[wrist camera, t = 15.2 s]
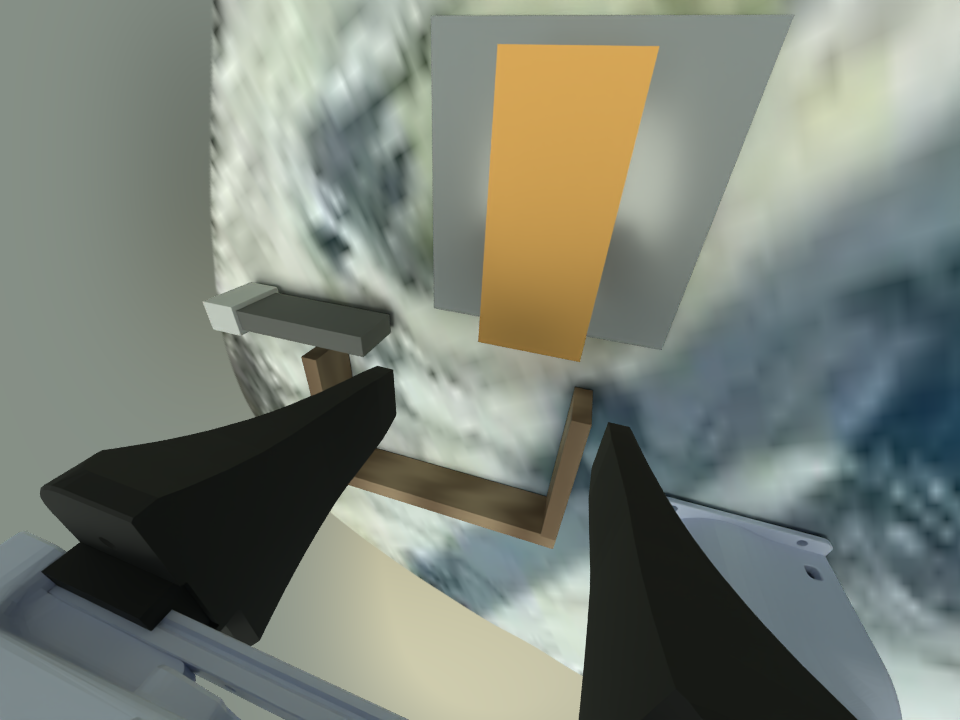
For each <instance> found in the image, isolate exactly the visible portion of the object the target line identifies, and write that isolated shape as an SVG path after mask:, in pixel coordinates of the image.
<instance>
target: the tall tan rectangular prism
mask: <svg viewBox="0 0 960 720" xmlns="http://www.w3.org/2000/svg"><path fill="white" fill-rule="evenodd" d="M658 50H659V46H611V45H532V44H497V60H496V75H495V91H494V106H493V122H492V137H491V153H490V168H489V183H488V199H487V214H486V230H485V245H484V261H483V276H482V292H481V307H480V323H479V338H478V342H482V343H487V344H492V345H497V346H502V347H507V348H512V349H517V350H522V351H527V352H532V353H537V354H542V355H547V356H552V357H557V358H562V359H567V360H572V361H577V362H580V359H581V355H582V351H583V347H584V343H585V339H586V335H587V331H588V327H589V323H590V319H591V315H592V312H593V308H594V304H595V300H596V296H597V292H598V288H599V284H600V280H601V276H602V272H603V268H604V264H605V260H606V256H607V252H608V248H609V244H610V240H611V236H612V232H613V228H614V224H615V221H616V217H617V213H618V209H619V205H620V201H621V197H622V193H623V189H624V185H625V181H626V177H627V173H628V169H629V165H630V161H631V157H632V153H633V149H634V145H635V141H636V137H637V133H638V129H639V126H640V122H641V118H642V114H643V110H644V106H645V102H646V98H647V94H648V90H649V86H650V82H651V78H652V74H653V70H654V66H655V62H656V58H657V54H658Z"/></svg>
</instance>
